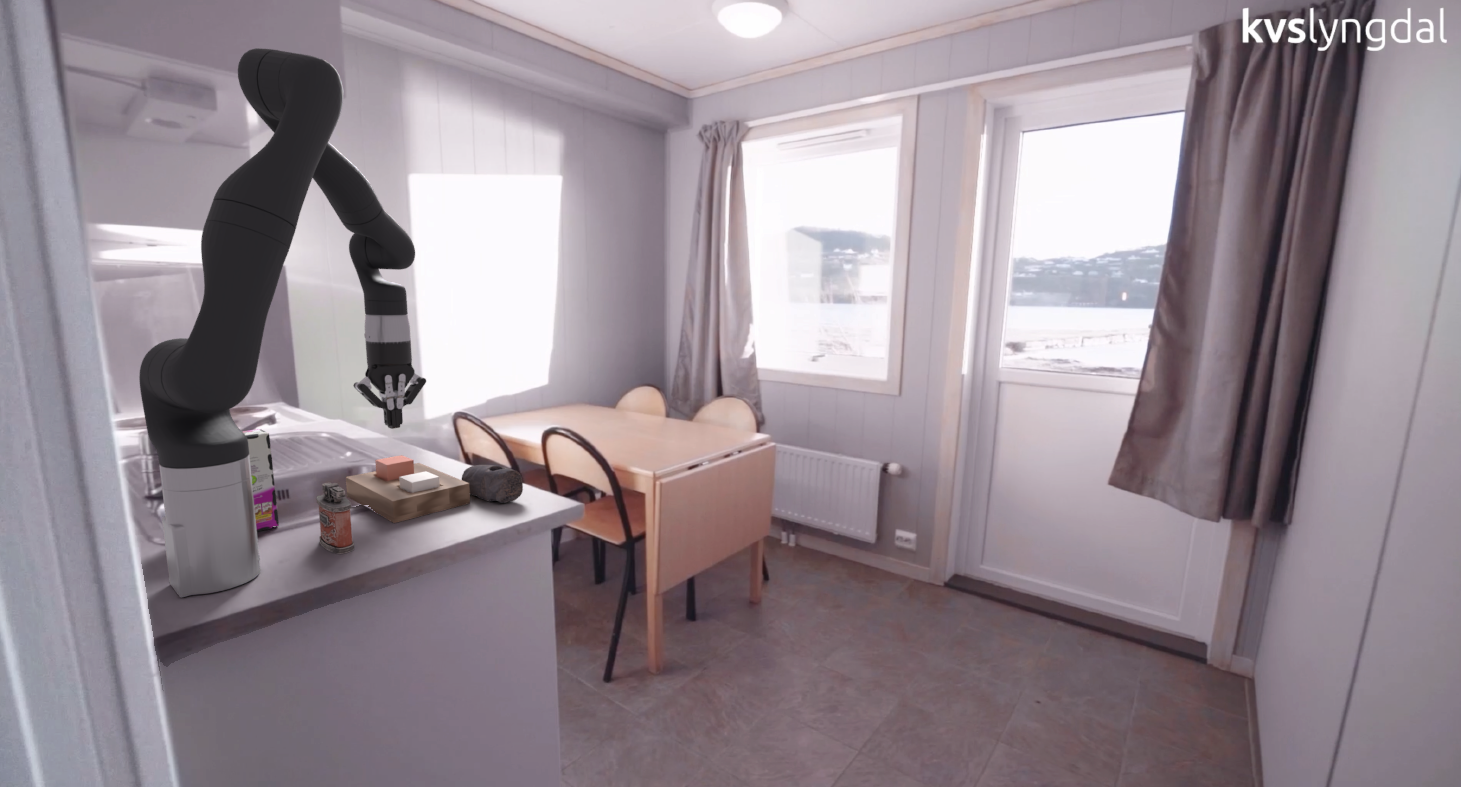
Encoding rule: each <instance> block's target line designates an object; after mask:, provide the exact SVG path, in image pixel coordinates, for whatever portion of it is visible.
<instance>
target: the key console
mask: <svg viewBox="0 0 1461 787" xmlns="http://www.w3.org/2000/svg"><path fill="white" fill-rule="evenodd" d="M425 471H427V472H429V473H431V474H434V475H436V476H439V484H440V487H436V488H431V489H427V490H423V491H418V492H414V493H409V492H407V491H405V490H403V489H401V488H400V482H399V479H395V480H390V481H384V480H382V479H380V478H378V477H376V470H374V471H370V472H365V473H360V474H354V475H349V476H346V477H345V487H346V498H347V499H350V500H352V501H354V502H356V503H357V504H359V505H361V506H363V505H369V506H368V507H371V509H373V511H375V512H376V513H375V512H374V513H375V514H377V513H378V514H377V515H379V514H380V515H381V516H380V515H379V516H380V517H382V516H383V517H382V518H384V519H385V520H388V521H389V522H391V523H393V524H397V523H400V522H405V521H408V520H412V519H415V518H416V519H417V518H419V517H422V516H423V517H424V516H427V515H430V514H434V513H437V512H438V513H439V512H443V511H446V510H449V509H453V508H457V507H461V506H465V505H469V504H471V496H470V495H471V494H470V488H469V483H467V482H465V481H462V479H460V478H457V477H455V476H453V475H450V474H447V473H445V472H442V471H440V470H438V469H435V468H433V467H430V466H428V465H426V464H424V463H420V462H417V463H414V474H415V473H420V472H425ZM373 511H372V512H373Z"/></svg>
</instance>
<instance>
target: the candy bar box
mask: <svg viewBox="0 0 1461 787" xmlns="http://www.w3.org/2000/svg"><path fill="white" fill-rule="evenodd" d="M241 431H242V430H241ZM242 432H243V433H244V434H245V435H246V437H247V439H248V445H249V456H250V466H251V477H252V488H253V498H254V508H255V518H256V529H257V533H259V532H263V531H266V530H269V529H274V528H276V527H274V528H272V527H273V526H278V527H279V526H280V523H279V513H278V512H279V511H278V503H277V494H276V485H275V477H274V474H275V473H274V468H273V467H274V466H273V457H272V447H271V437H270V433H269V432H267V431H265V430H263V429H262V428H257V429H249V430H243V431H242ZM267 528H268V529H267Z"/></svg>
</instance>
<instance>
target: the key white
mask: <svg viewBox="0 0 1461 787" xmlns="http://www.w3.org/2000/svg"><path fill="white" fill-rule="evenodd" d="M399 482H400V488H401V489H403V490H405V491H407V492H409V493H414V492H418V491H423V490H427V489H431V488H436V487H440V484H439V476H436V475H434V474H431V473H429V472H427V471H425V472H420V473H415V474H410V475H406V476H401V477H399Z"/></svg>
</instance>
